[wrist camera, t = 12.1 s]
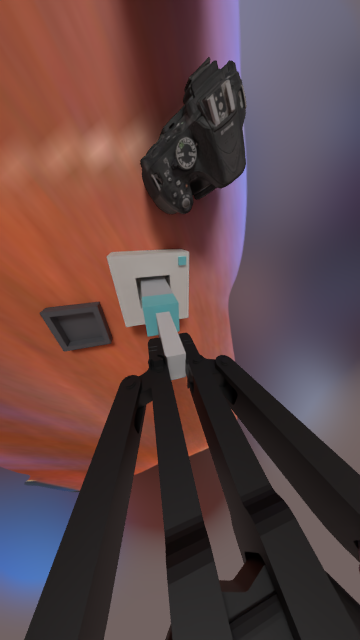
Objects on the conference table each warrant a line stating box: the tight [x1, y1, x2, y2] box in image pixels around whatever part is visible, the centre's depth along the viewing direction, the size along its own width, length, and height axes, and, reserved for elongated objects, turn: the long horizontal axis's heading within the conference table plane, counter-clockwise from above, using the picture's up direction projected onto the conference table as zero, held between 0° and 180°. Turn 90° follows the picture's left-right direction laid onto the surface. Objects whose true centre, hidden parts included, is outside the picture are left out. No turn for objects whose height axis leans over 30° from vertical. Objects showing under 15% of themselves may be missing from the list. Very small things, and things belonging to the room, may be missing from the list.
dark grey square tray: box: [40, 302, 112, 351], centre depth 28 cm, size 9×9×2 cm
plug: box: [141, 275, 179, 336], centre depth 22 cm, size 4×4×13 cm
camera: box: [140, 57, 246, 214], centre depth 17 cm, size 13×10×10 cm
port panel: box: [107, 249, 189, 327], centre depth 26 cm, size 12×12×5 cm
